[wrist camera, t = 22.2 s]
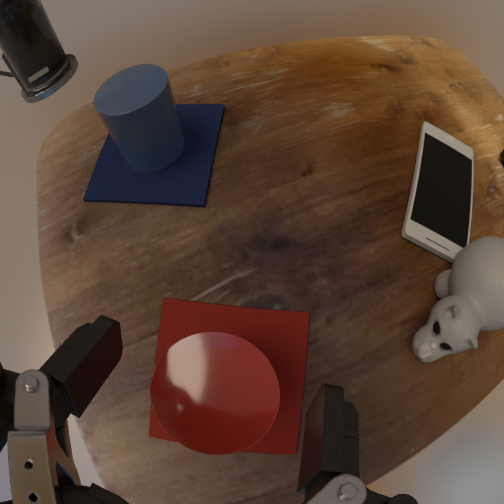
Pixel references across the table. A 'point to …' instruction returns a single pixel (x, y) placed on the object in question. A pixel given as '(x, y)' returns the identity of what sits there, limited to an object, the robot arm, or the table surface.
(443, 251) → the smartphone
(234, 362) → the red cylinder
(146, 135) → the grey-blue cylinder
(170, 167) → the blue mat
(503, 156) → the stuffed fox
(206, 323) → the red mat
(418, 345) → the toy rhinoceros
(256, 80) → the table surface
